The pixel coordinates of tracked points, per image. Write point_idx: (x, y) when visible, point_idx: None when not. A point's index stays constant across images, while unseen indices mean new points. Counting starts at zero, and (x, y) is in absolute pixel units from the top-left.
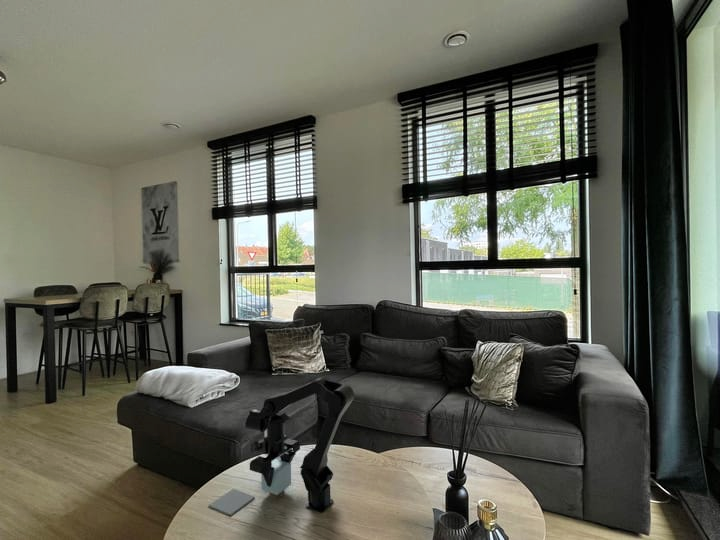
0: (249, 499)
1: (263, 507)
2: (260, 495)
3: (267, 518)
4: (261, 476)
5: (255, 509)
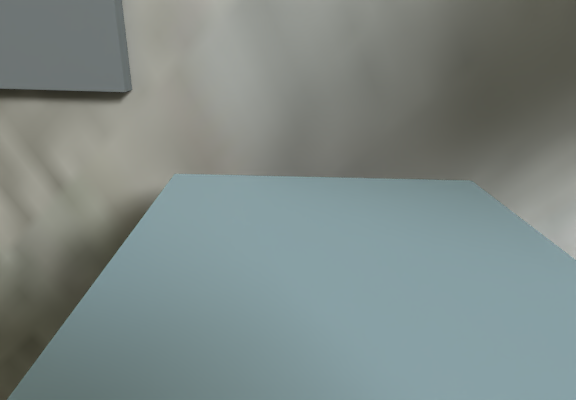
0: (45, 70)
1: (84, 276)
2: (211, 108)
3: (13, 387)
4: (93, 284)
5: (13, 233)
